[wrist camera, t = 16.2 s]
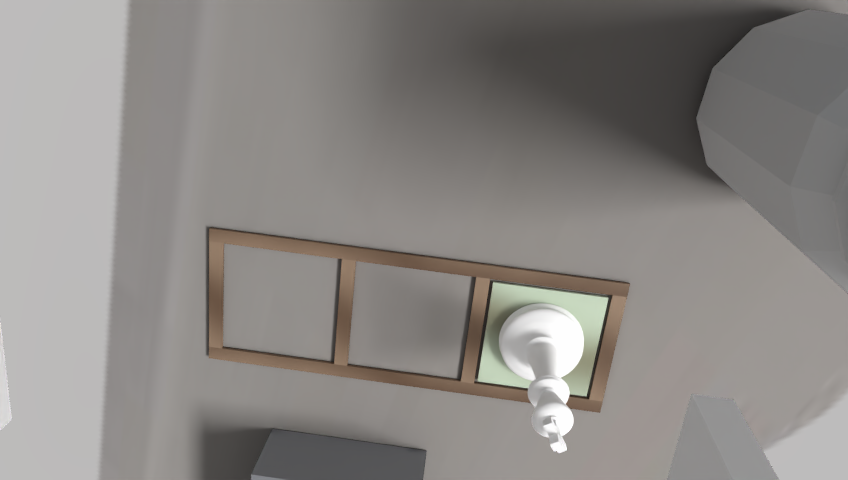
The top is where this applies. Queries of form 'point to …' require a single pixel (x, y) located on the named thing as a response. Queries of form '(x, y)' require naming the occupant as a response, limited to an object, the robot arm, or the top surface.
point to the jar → (787, 131)
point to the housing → (334, 459)
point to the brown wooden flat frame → (501, 307)
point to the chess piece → (544, 363)
